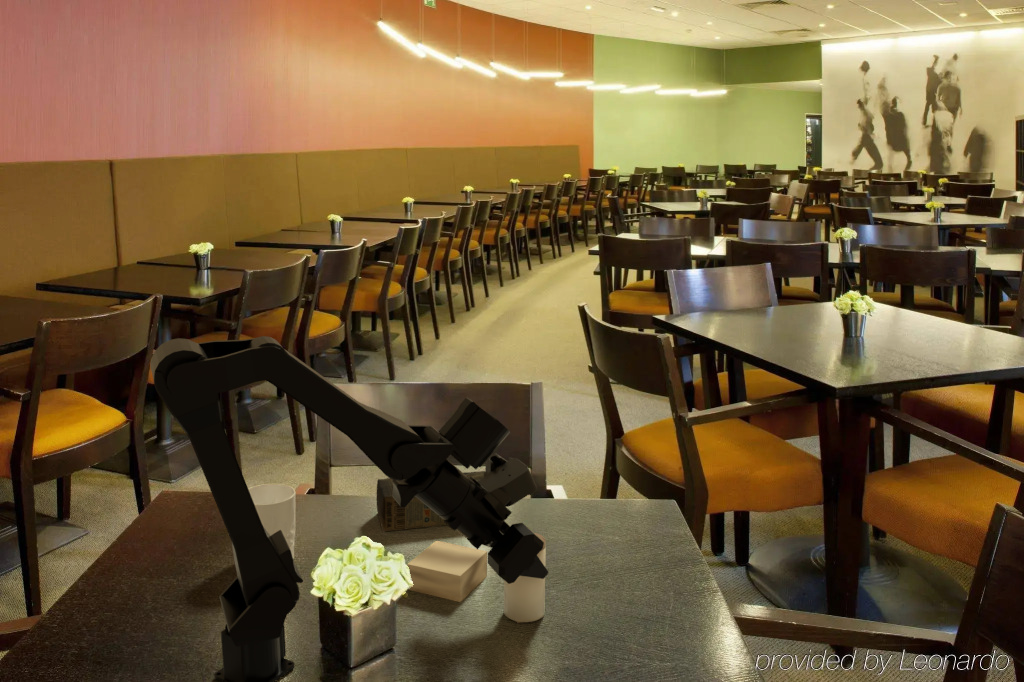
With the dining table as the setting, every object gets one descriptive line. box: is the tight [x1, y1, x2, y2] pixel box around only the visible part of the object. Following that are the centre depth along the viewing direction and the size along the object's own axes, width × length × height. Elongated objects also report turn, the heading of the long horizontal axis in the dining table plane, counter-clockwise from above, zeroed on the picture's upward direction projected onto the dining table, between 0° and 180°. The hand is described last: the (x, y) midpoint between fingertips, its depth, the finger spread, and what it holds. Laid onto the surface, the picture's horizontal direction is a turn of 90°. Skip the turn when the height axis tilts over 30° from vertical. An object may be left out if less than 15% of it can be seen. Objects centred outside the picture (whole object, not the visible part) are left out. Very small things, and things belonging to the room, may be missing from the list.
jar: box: [503, 532, 547, 624], centre depth 114 cm, size 5×5×10 cm
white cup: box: [248, 483, 296, 560], centre depth 129 cm, size 8×8×10 cm
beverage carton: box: [376, 470, 486, 532], centre depth 144 cm, size 8×19×7 cm, turn 106°
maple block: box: [406, 540, 488, 603], centre depth 123 cm, size 8×8×4 cm
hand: (534, 564), depth 114 cm, fingers open, 6 cm apart
